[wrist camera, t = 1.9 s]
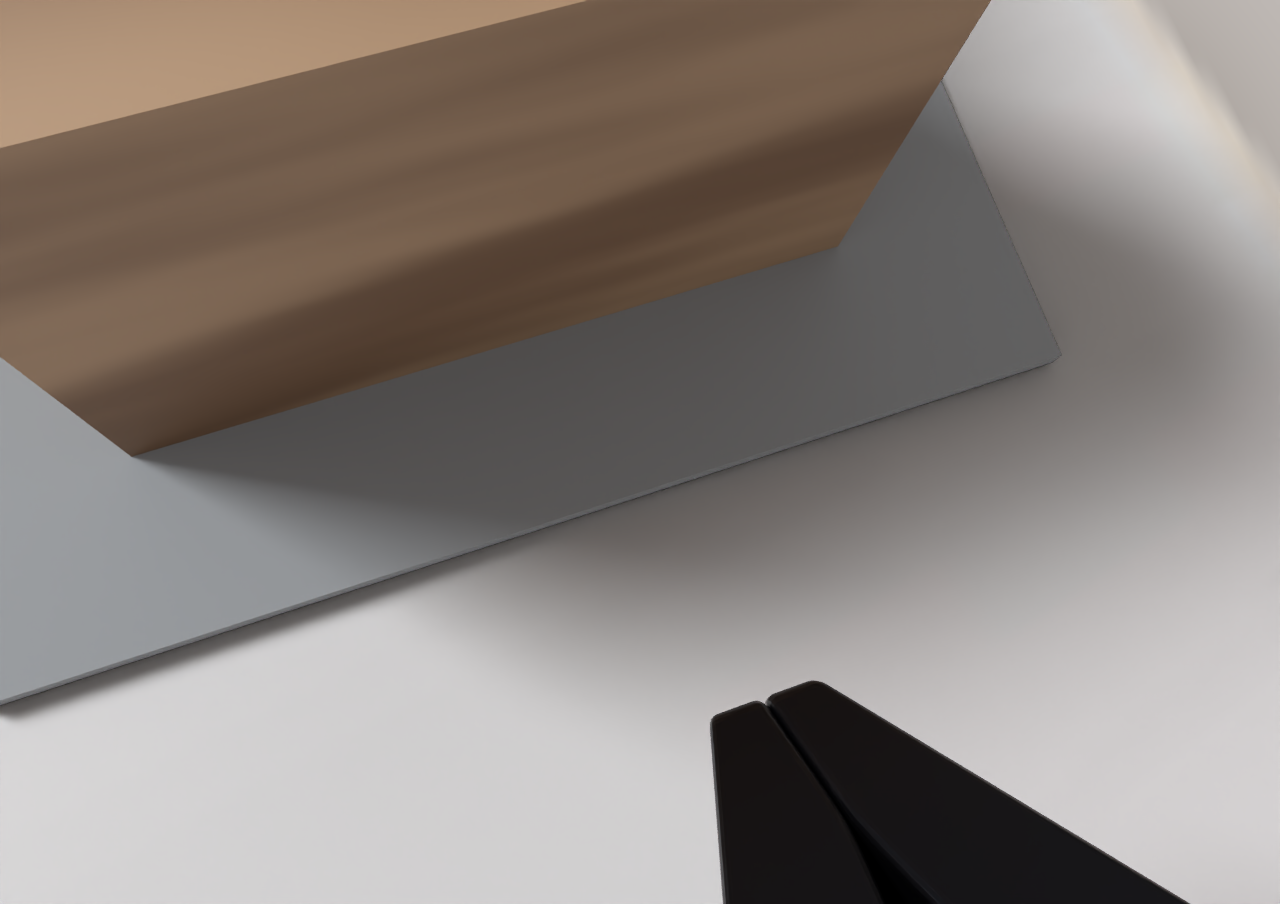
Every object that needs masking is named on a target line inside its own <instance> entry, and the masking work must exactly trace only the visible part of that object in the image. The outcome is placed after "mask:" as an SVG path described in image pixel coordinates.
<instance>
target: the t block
mask: <svg viewBox="0 0 1280 904" xmlns="http://www.w3.org/2000/svg"><path fill="white" fill-rule="evenodd" d="M990 1H991V0H0V357H1V358H2V359H3V360H5V361H6V362H7V363H9V364H10V365H11V366H13V367H14V368H15V369H17V370H18V371H19V372H21V373H22V374H23V375H24V376H26V377H27V378H28V379H30V380H31V381H32V382H34V383H35V384H36V385H38V386H39V387H40V388H42V389H43V390H44V391H46V392H47V393H48V394H49V395H51V396H52V397H53V398H55V399H56V400H57V401H59V402H60V403H61V404H63V405H64V406H65V407H67V408H68V409H69V410H71V411H72V412H73V413H74V414H76V415H77V416H78V417H80V418H81V419H82V420H84V421H85V422H86V423H88V424H89V425H90V426H92V427H93V428H94V429H95V430H97V431H98V432H99V433H101V434H102V435H103V436H105V437H106V438H107V439H109V440H110V441H111V442H113V443H114V444H115V445H117V446H118V447H119V448H120V449H122V450H123V451H124V452H126V453H127V454H128V455H130V456H131V457H133V456H136V455H139V454H143V453H146V452H149V451H153V450H156V449H159V448H163V447H166V446H169V445H173V444H176V443H180V442H183V441H186V440H190V439H193V438H196V437H200V436H203V435H206V434H210V433H213V432H216V431H220V430H223V429H227V428H230V427H233V426H237V425H240V424H243V423H247V422H250V421H253V420H257V419H260V418H263V417H267V416H270V415H273V414H277V413H280V412H284V411H287V410H290V409H294V408H297V407H300V406H304V405H307V404H310V403H314V402H317V401H320V400H324V399H327V398H331V397H334V396H337V395H341V394H344V393H347V392H351V391H354V390H357V389H361V388H364V387H367V386H371V385H374V384H378V383H381V382H384V381H388V380H391V379H394V378H398V377H401V376H404V375H408V374H411V373H414V372H418V371H421V370H425V369H428V368H431V367H435V366H438V365H441V364H445V363H448V362H451V361H455V360H458V359H461V358H465V357H468V356H471V355H475V354H478V353H482V352H485V351H488V350H492V349H495V348H498V347H502V346H505V345H508V344H512V343H515V342H518V341H522V340H525V339H529V338H532V337H535V336H539V335H542V334H545V333H549V332H552V331H555V330H559V329H562V328H565V327H569V326H572V325H576V324H579V323H582V322H586V321H589V320H592V319H596V318H599V317H602V316H606V315H609V314H612V313H616V312H619V311H623V310H626V309H629V308H633V307H636V306H639V305H643V304H646V303H649V302H653V301H656V300H659V299H663V298H666V297H670V296H673V295H676V294H680V293H683V292H686V291H690V290H693V289H696V288H700V287H703V286H706V285H710V284H713V283H716V282H720V281H723V280H727V279H730V278H733V277H737V276H740V275H743V274H747V273H750V272H753V271H757V270H760V269H763V268H767V267H770V266H774V265H777V264H780V263H784V262H787V261H790V260H794V259H797V258H800V257H804V256H807V255H810V254H814V253H817V252H821V251H824V250H827V249H831V248H834V247H837V246H838V245H839V244H840V242H841V241H842V239H843V237H844V236H845V234H846V233H847V231H848V229H849V228H850V226H851V225H852V223H853V221H854V220H855V218H856V216H857V215H858V213H859V212H860V210H861V208H862V207H863V205H864V204H865V202H866V200H867V199H868V197H869V196H870V194H871V192H872V191H873V189H874V188H875V186H876V184H877V183H878V181H879V180H880V178H881V176H882V175H883V173H884V171H885V170H886V168H887V167H888V165H889V163H890V162H891V160H892V159H893V157H894V155H895V154H896V152H897V151H898V149H899V147H900V146H901V144H902V143H903V141H904V139H905V138H906V136H907V134H908V133H909V131H910V130H911V128H912V126H913V125H914V123H915V122H916V120H917V118H918V117H919V115H920V114H921V112H922V110H923V109H924V107H925V106H926V104H927V102H928V101H929V99H930V97H931V96H932V94H933V93H934V91H935V89H936V88H937V86H938V85H939V83H940V81H941V80H942V78H943V77H944V75H945V73H946V72H947V70H948V69H949V67H950V65H951V64H952V62H953V61H954V59H955V57H956V56H957V54H958V52H959V51H960V49H961V48H962V46H963V44H964V43H965V41H966V40H967V38H968V36H969V35H970V33H971V32H972V30H973V28H974V27H975V25H976V24H977V22H978V20H979V19H980V17H981V15H982V14H983V12H984V11H985V9H986V7H987V6H988V4H989V3H990Z"/></svg>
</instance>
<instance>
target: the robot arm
mask: <svg viewBox="0 0 1280 904" xmlns="http://www.w3.org/2000/svg"><path fill="white" fill-rule="evenodd" d="M710 736H711V749H712V762H713V776H714V789H715V803H716V816H717V830H718V843H719V857H720V870H721V883H722V897H723V904H1190V903H1188V902H1186V901H1185V900H1183V899H1181V898H1180V897H1178V896H1176V895H1175V894H1173V893H1172V892H1170V891H1168V890H1167V889H1165V888H1163V887H1162V886H1160V885H1158V884H1157V883H1155V882H1153V881H1152V880H1150V879H1148V878H1147V877H1145V876H1143V875H1142V874H1140V873H1138V872H1137V871H1135V870H1133V869H1132V868H1130V867H1128V866H1127V865H1125V864H1123V863H1122V862H1120V861H1118V860H1117V859H1115V858H1113V857H1112V856H1110V855H1109V854H1107V853H1105V852H1104V851H1102V850H1100V849H1099V848H1097V847H1095V846H1094V845H1092V844H1090V843H1089V842H1087V841H1085V840H1084V839H1082V838H1080V837H1079V836H1077V835H1075V834H1074V833H1072V832H1070V831H1069V830H1067V829H1065V828H1064V827H1062V826H1060V825H1059V824H1057V823H1055V822H1054V821H1052V820H1051V819H1049V818H1047V817H1046V816H1044V815H1042V814H1041V813H1039V812H1037V811H1036V810H1034V809H1032V808H1031V807H1029V806H1027V805H1026V804H1024V803H1022V802H1021V801H1019V800H1017V799H1016V798H1014V797H1012V796H1011V795H1009V794H1007V793H1006V792H1004V791H1002V790H1001V789H999V788H997V787H996V786H994V785H993V784H991V783H989V782H988V781H986V780H984V779H983V778H981V777H979V776H978V775H976V774H974V773H973V772H971V771H969V770H968V769H966V768H964V767H963V766H961V765H959V764H958V763H956V762H954V761H953V760H951V759H949V758H948V757H946V756H944V755H943V754H941V753H939V752H938V751H936V750H934V749H933V748H931V747H930V746H928V745H926V744H925V743H923V742H921V741H920V740H918V739H916V738H915V737H913V736H911V735H910V734H908V733H906V732H905V731H903V730H901V729H900V728H898V727H896V726H895V725H893V724H891V723H890V722H888V721H886V720H885V719H883V718H881V717H880V716H878V715H876V714H875V713H873V712H872V711H870V710H868V709H867V708H865V707H863V706H862V705H860V704H858V703H857V702H855V701H853V700H852V699H850V698H848V697H847V696H845V695H843V694H842V693H840V692H838V691H837V690H835V689H833V688H832V687H830V686H828V685H827V684H825V683H823V682H819V681H808V682H805V683H802V684H800V685H797V686H794V687H791V688H789V689H786V690H783V691H780V692H777V693H775V694H772V695H771V696H770V697H768V699H767V700H766V703H765V704H764V703H762V702H760V701H753V702H750V703H747V704H744V705H742V706H739V707H736V708H733V709H731V710H728V711H725V712H722V713H720V714H717V715H715V716H714V717H713V718H712V719H711V722H710Z"/></svg>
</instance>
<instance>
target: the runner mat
mask: <svg viewBox="0 0 1280 904" xmlns="http://www.w3.org/2000/svg"><path fill="white" fill-rule="evenodd" d="M1061 355H1062V354H1061V352H1060V350H1059V348H1058V345H1057V343H1056V341H1055V338H1054V336H1053V334H1052V332H1051V329H1050V327H1049V325H1048V323H1047V320H1046V318H1045V316H1044V313H1043V311H1042V309H1041V307H1040V304H1039V302H1038V300H1037V298H1036V295H1035V293H1034V291H1033V288H1032V286H1031V284H1030V282H1029V279H1028V277H1027V275H1026V273H1025V270H1024V268H1023V266H1022V263H1021V261H1020V259H1019V257H1018V254H1017V252H1016V250H1015V248H1014V245H1013V243H1012V241H1011V238H1010V236H1009V234H1008V232H1007V229H1006V227H1005V225H1004V223H1003V220H1002V218H1001V216H1000V213H999V211H998V209H997V207H996V204H995V202H994V200H993V198H992V195H991V193H990V191H989V188H988V186H987V184H986V182H985V179H984V177H983V175H982V172H981V170H980V168H979V166H978V163H977V161H976V159H975V157H974V154H973V152H972V150H971V147H970V145H969V143H968V141H967V138H966V136H965V134H964V132H963V129H962V127H961V125H960V122H959V120H958V118H957V116H956V113H955V111H954V109H953V107H952V104H951V102H950V100H949V97H948V95H947V93H946V91H945V88H944V86H943V84H942V82H941V81H940V83H939V85H938V86H937V88H936V89H935V91H934V93H933V94H932V96H931V97H930V99H929V101H928V102H927V104H926V106H925V107H924V109H923V110H922V112H921V114H920V115H919V117H918V118H917V120H916V122H915V123H914V125H913V126H912V128H911V130H910V131H909V133H908V134H907V136H906V138H905V139H904V141H903V143H902V144H901V146H900V147H899V149H898V151H897V152H896V154H895V155H894V157H893V159H892V160H891V162H890V163H889V165H888V167H887V168H886V170H885V171H884V173H883V175H882V176H881V178H880V180H879V181H878V183H877V184H876V186H875V188H874V189H873V191H872V192H871V194H870V196H869V197H868V199H867V200H866V202H865V204H864V205H863V207H862V208H861V210H860V212H859V213H858V215H857V216H856V218H855V220H854V221H853V223H852V225H851V226H850V228H849V229H848V231H847V233H846V234H845V236H844V237H843V239H842V241H841V242H840V244H839V245H838V246H837V247H834V248H831V249H827V250H824V251H821V252H817V253H814V254H810V255H807V256H804V257H800V258H797V259H794V260H790V261H787V262H784V263H780V264H777V265H774V266H770V267H767V268H763V269H760V270H757V271H753V272H750V273H747V274H743V275H740V276H737V277H733V278H730V279H727V280H723V281H720V282H716V283H713V284H710V285H706V286H703V287H700V288H696V289H693V290H690V291H686V292H683V293H680V294H676V295H673V296H670V297H666V298H663V299H659V300H656V301H653V302H649V303H646V304H643V305H639V306H636V307H633V308H629V309H626V310H623V311H619V312H616V313H612V314H609V315H606V316H602V317H599V318H596V319H592V320H589V321H586V322H582V323H579V324H576V325H572V326H569V327H565V328H562V329H559V330H555V331H552V332H549V333H545V334H542V335H539V336H535V337H532V338H529V339H525V340H522V341H518V342H515V343H512V344H508V345H505V346H502V347H498V348H495V349H492V350H488V351H485V352H482V353H478V354H475V355H471V356H468V357H465V358H461V359H458V360H455V361H451V362H448V363H445V364H441V365H438V366H435V367H431V368H428V369H425V370H421V371H418V372H414V373H411V374H408V375H404V376H401V377H398V378H394V379H391V380H388V381H384V382H381V383H378V384H374V385H371V386H367V387H364V388H361V389H357V390H354V391H351V392H347V393H344V394H341V395H337V396H334V397H331V398H327V399H324V400H320V401H317V402H314V403H310V404H307V405H304V406H300V407H297V408H294V409H290V410H287V411H284V412H280V413H277V414H273V415H270V416H267V417H263V418H260V419H257V420H253V421H250V422H247V423H243V424H240V425H237V426H233V427H230V428H227V429H223V430H220V431H216V432H213V433H210V434H206V435H203V436H200V437H196V438H193V439H190V440H186V441H183V442H180V443H176V444H173V445H169V446H166V447H163V448H159V449H156V450H153V451H149V452H146V453H143V454H139V455H136V456H133V457H131V456H130V455H128V454H127V453H126V452H124V451H123V450H122V449H120V448H119V447H118V446H117V445H115V444H114V443H113V442H111V441H110V440H109V439H107V438H106V437H105V436H103V435H102V434H101V433H99V432H98V431H97V430H95V429H94V428H93V427H92V426H90V425H89V424H88V423H86V422H85V421H84V420H82V419H81V418H80V417H78V416H77V415H76V414H74V413H73V412H72V411H71V410H69V409H68V408H67V407H65V406H64V405H63V404H61V403H60V402H59V401H57V400H56V399H55V398H53V397H52V396H51V395H49V394H48V393H47V392H46V391H44V390H43V389H42V388H40V387H39V386H38V385H36V384H35V383H34V382H32V381H31V380H30V379H28V378H27V377H26V376H24V375H23V374H22V373H21V372H19V371H18V370H17V369H15V368H14V367H13V366H11V365H10V364H9V363H7V362H6V361H5V360H3V359H2V358H1V357H0V705H2V704H6V703H9V702H12V701H15V700H18V699H21V698H24V697H27V696H30V695H33V694H36V693H39V692H42V691H45V690H48V689H52V688H55V687H58V686H61V685H64V684H67V683H70V682H73V681H76V680H79V679H82V678H85V677H88V676H91V675H95V674H98V673H101V672H104V671H107V670H110V669H113V668H116V667H119V666H122V665H125V664H128V663H131V662H134V661H137V660H141V659H144V658H147V657H150V656H153V655H156V654H159V653H162V652H165V651H168V650H171V649H174V648H177V647H180V646H183V645H187V644H190V643H193V642H196V641H199V640H202V639H205V638H208V637H211V636H214V635H217V634H220V633H223V632H226V631H229V630H233V629H236V628H239V627H242V626H245V625H248V624H251V623H254V622H257V621H260V620H263V619H266V618H269V617H272V616H276V615H279V614H282V613H285V612H288V611H291V610H294V609H297V608H300V607H303V606H306V605H309V604H312V603H315V602H318V601H322V600H325V599H328V598H331V597H334V596H337V595H340V594H343V593H346V592H349V591H352V590H355V589H358V588H361V587H364V586H368V585H371V584H374V583H377V582H380V581H383V580H386V579H389V578H392V577H395V576H398V575H401V574H404V573H407V572H410V571H414V570H417V569H420V568H423V567H426V566H429V565H432V564H435V563H438V562H441V561H444V560H447V559H450V558H453V557H457V556H460V555H463V554H466V553H469V552H472V551H475V550H478V549H481V548H484V547H487V546H490V545H493V544H496V543H499V542H503V541H506V540H509V539H512V538H515V537H518V536H521V535H524V534H527V533H530V532H533V531H536V530H539V529H542V528H545V527H549V526H552V525H555V524H558V523H561V522H564V521H567V520H570V519H573V518H576V517H579V516H582V515H585V514H588V513H592V512H595V511H598V510H601V509H604V508H607V507H610V506H613V505H616V504H619V503H622V502H625V501H628V500H631V499H634V498H638V497H641V496H644V495H647V494H650V493H653V492H656V491H659V490H662V489H665V488H668V487H671V486H674V485H677V484H680V483H684V482H687V481H690V480H693V479H696V478H699V477H702V476H705V475H708V474H711V473H714V472H717V471H720V470H723V469H726V468H730V467H733V466H736V465H739V464H742V463H745V462H748V461H751V460H754V459H757V458H760V457H763V456H766V455H769V454H773V453H776V452H779V451H782V450H785V449H788V448H791V447H794V446H797V445H800V444H803V443H806V442H809V441H812V440H815V439H819V438H822V437H825V436H828V435H831V434H834V433H837V432H840V431H843V430H846V429H849V428H852V427H855V426H858V425H861V424H865V423H868V422H871V421H874V420H877V419H880V418H883V417H886V416H889V415H892V414H895V413H898V412H901V411H904V410H907V409H911V408H914V407H917V406H920V405H923V404H926V403H929V402H932V401H935V400H938V399H941V398H944V397H947V396H950V395H954V394H957V393H960V392H963V391H966V390H969V389H972V388H975V387H978V386H981V385H984V384H987V383H990V382H993V381H996V380H1000V379H1003V378H1006V377H1009V376H1012V375H1015V374H1018V373H1021V372H1024V371H1027V370H1030V369H1033V368H1036V367H1039V366H1042V365H1046V364H1049V363H1052V362H1053V361H1055V360H1056V359H1057V358H1059V357H1060V356H1061Z"/></svg>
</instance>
